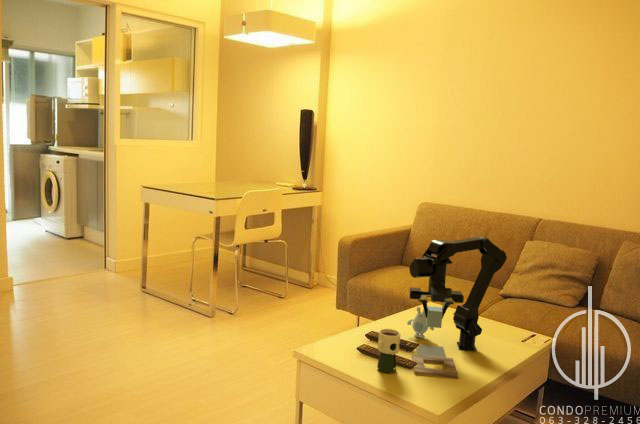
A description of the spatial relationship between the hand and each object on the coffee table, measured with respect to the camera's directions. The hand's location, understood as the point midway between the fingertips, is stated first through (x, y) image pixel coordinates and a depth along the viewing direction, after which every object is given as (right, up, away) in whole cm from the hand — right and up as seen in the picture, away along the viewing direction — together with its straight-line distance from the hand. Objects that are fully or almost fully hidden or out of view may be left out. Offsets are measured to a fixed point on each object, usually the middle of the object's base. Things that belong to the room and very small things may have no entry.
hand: (433, 318), depth 194 cm
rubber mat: (-1, -13, +2) cm, 13 cm away
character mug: (-19, -14, -15) cm, 28 cm away
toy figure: (-2, -11, +16) cm, 19 cm away
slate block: (0, -3, 0) cm, 2 cm away
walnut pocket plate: (-2, -14, -11) cm, 18 cm away
